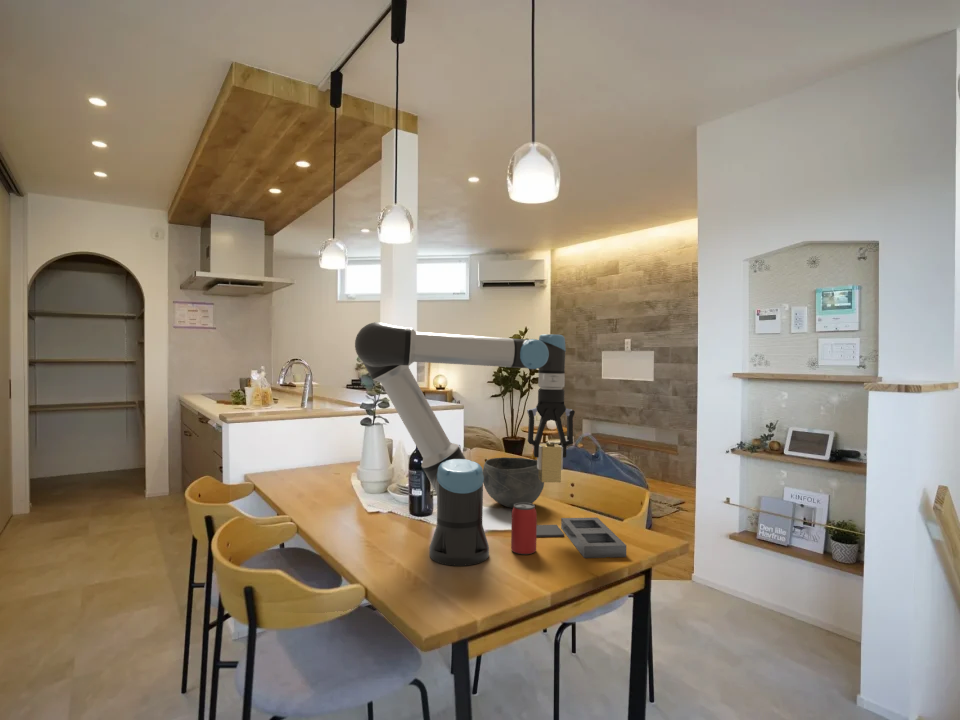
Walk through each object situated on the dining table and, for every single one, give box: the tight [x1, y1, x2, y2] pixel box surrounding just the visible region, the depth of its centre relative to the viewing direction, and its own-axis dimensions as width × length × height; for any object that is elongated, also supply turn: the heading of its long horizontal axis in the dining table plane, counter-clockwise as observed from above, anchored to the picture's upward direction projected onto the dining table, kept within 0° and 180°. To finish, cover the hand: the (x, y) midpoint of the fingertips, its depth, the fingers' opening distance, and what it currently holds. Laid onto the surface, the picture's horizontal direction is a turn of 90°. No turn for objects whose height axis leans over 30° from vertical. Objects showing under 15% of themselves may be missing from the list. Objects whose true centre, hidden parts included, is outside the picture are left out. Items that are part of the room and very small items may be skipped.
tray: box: [560, 517, 627, 559], centre depth 153 cm, size 11×24×3 cm, turn 6°
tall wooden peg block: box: [539, 441, 562, 483], centre depth 160 cm, size 5×5×11 cm
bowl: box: [482, 456, 545, 509], centre depth 188 cm, size 21×21×15 cm
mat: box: [536, 524, 565, 538], centre depth 161 cm, size 9×9×1 cm
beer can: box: [510, 503, 538, 556], centre depth 145 cm, size 7×7×12 cm
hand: (549, 468), depth 160 cm, fingers closed on tall wooden peg block, 5 cm apart
